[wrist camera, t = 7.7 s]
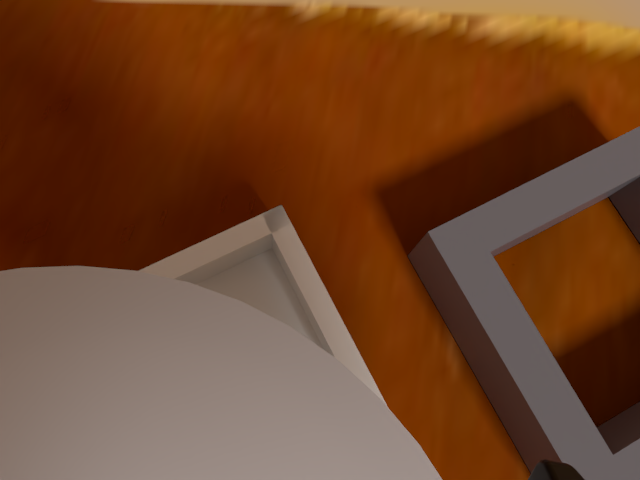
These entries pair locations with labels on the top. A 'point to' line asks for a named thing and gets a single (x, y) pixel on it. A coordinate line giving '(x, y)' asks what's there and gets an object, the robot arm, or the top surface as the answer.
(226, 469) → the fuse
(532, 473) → the robot arm
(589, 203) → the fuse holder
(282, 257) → the parts tray
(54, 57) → the top surface
